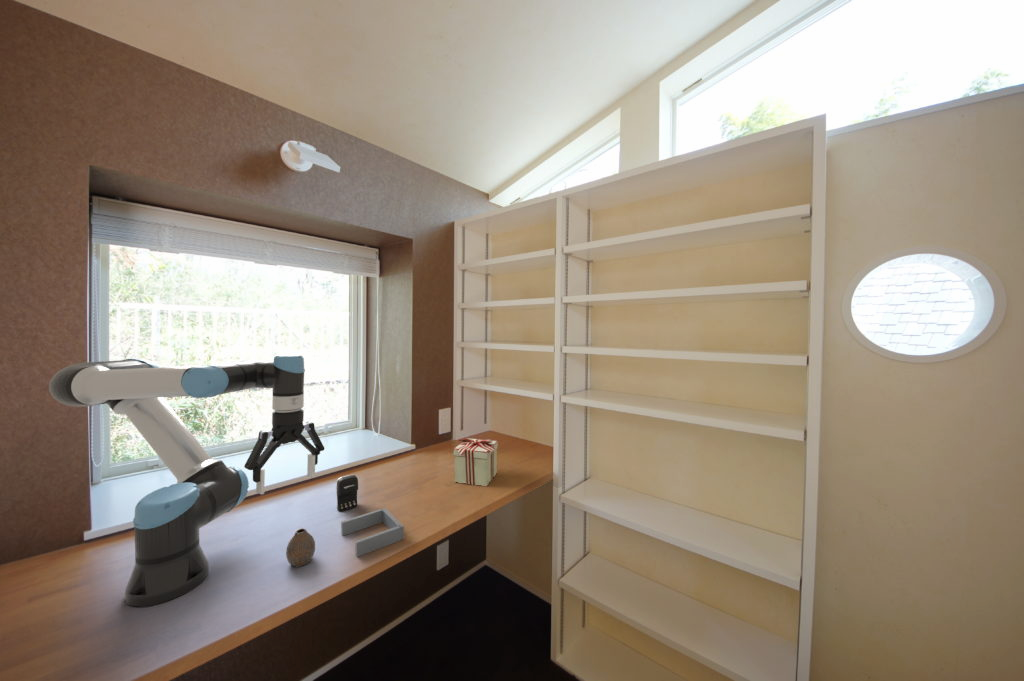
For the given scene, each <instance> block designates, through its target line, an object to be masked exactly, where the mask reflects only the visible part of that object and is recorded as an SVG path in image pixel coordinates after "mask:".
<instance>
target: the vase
mask: <svg viewBox="0 0 1024 681" xmlns="http://www.w3.org/2000/svg"><path fill="white" fill-rule="evenodd" d="M315 541H316V540H315V539H314V536H313V535H311V534H310V533H309V532H308V531H307V529H306V528H303V527H302V528H299V529H297V530H296V531H295V532H294V534H293V536H292V538H290V540H289V542H288V544H287V546H286V550H285V555H286V560H287V562H288V564H289V565H291V566H292V567H295V566H299V567H302V565H303V566H305V565H307V564H308V563H309V562H310V561H311V560H312V559H313V557H314V555H315V550H316V542H315Z"/></svg>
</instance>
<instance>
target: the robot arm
mask: <svg viewBox="0 0 1024 681" xmlns="http://www.w3.org/2000/svg"><path fill="white" fill-rule="evenodd" d="M304 360H305V359H304V357H303V356H302V355H300V354H276V355H274V356H273V358H272V361H264V360H263V361H262V360H249V359H245V360H235V361H233V362H231V363H220V364H207V365H187V366H185V365H183V366H166V367H165V366H162V367H161V366H160V365H158V364H157V363H156V362H154V361H152V360H149V359H143V358H142V359H141V358H139V359H138V358H137V359H136V358H125V359H121V360H119V359H118V360H105V361H88V362H81V363H80V362H79V363H75V364H71V365H68V366H66V367H64V368H62V369H60V370H59V371H57V372H56V373H55V374H54V375H53V376H52V378H51V379H50V381H49V385H48V386H49V387H48V389H49V393H50V395H51V396H52V398H53V399H54V400H55V401H57V402H58V403H60V404H62V405H66V406H68V407H78V408H79V407H80V408H81V407H82V408H83V407H91V406H92V407H93V406H100V405H108V407H109V408H110V409H111V410H112V412H114V414H116V415H117V414H118V415H125V416H126V417H127V418H128V419H129V421H130V422H131V424H132V425H133V426H134V427H135V428H136V430H137V431H138V432H139V433H140V435H141V436H142V437H143V439H145V441H146V442H147V443H148V445H149V446H150V447H151V449H152V450H153V451H154V453H155V454H156V455H157V456H158V458H159V459H160V460H161V461H162V462H163V464H164V465H165V466H166V467H167V469H168V470H169V471H170V472H171V473H172V475H173V476H174V477H175V479H176V480H177V482H176V483H174V484H170V485H169V486H164V487H160V488H158V489H156V490H153V491H152V492H150V493H148V494H146V495H145V496H143V497H142V498H141V499H140V500H139V501H138V502H137V503H136V505H135V508H134V517H133V520H132V523H133V528H134V531H133V532H134V533H133V534H134V554H135V557H134V558H135V560H134V567H133V569H132V572H131V574H130V577H129V580H128V582H127V585H126V588H125V592H124V597H125V599H124V600H125V601H126V602H125V603H126V605H128V604H129V605H128V606H130V605H132V606H131V607H134V606H144V607H149V606H154V605H158V604H162V603H165V602H168V601H171V600H173V599H174V600H175V599H176V598H178V597H181V596H182V595H185V594H186V593H188V592H190V591H192V590H193V589H195V588H196V587H198V586H199V585H200V584H201V583H203V581H205V579H206V578H207V577H208V575H209V573H210V569H209V568H210V566H209V560H208V558H207V557H206V555H205V553H204V550H203V549H202V547H201V544H200V529H202V528H203V527H204V526H206V525H208V524H210V523H211V522H213V521H214V520H216V519H217V518H219V517H221V516H223V515H224V514H227V513H229V512H231V511H232V510H234V509H235V507H237V506H238V505H240V504H242V502H243V501H244V499H245V498H246V497H247V495H248V489H249V487H250V486H249V485H250V484H249V478H248V476H247V473H245V471H243V469H241V468H239V467H235V466H229V467H228V466H227V465H226V464H225V463H224V461H223V460H222V459H213V458H212V457H211V456H210V455H209V453H208V452H207V451H206V450H205V448H204V447H203V446H202V444H201V443H200V442H199V441H198V439H197V438H196V436H194V435H193V433H192V432H191V430H190V428H188V426H186V425H185V423H184V422H183V420H182V419H181V418H180V417H179V415H178V414H177V413H176V412H175V410H174V409H173V408H172V406H171V405H170V404H169V403H168V402H167V401H166V399H165V398H175V397H176V398H177V397H192V398H195V399H204V398H205V399H207V398H212V397H216V396H219V395H220V396H221V395H223V394H224V395H225V394H229V393H235V392H239V391H243V390H244V391H245V390H249V389H272V406H271V408H272V410H274V411H272V415H271V416H272V417H271V418H272V419H271V424H272V426H271V427H272V428H271V430H267V431H264V430H260V431H259V432H258V437H257V438H258V439H257V441H256V443H255V445H254V446H253V448H252V450H251V452H250V454H249V456H248V458H247V460H246V462H245V463H244V466H243V467H244V469H247V471H248V470H249V471H252V481H253V482H254V483H255V484H256V489H255V492H256V493H258V494H260V495H264V494H265V479H266V478H265V475H266V474H265V472H266V471H265V469H264V468H263V467H264V465H266V463H267V462H268V461H269V459H270V458H271V457H272V456H273V454H274V453H275V452H276V450H277V449H278V448H279V447H281V445H287V444H289V443H295V442H297V441H298V443H299V444H301V445H302V446H303V447H304V448H305V449H307V451H308V452H309V453H307V469H306V471H307V473H306V474H307V475H306V476H307V477H310V478H312V479H313V478H316V465H318V462H319V461H318V460H319V456H320V455H321V452H323V451H325V449H326V448H325V445H324V443H322V441H321V439H320V437H319V435H318V433H317V432H316V430H315V423H314V422H311V421H307V422H305V423H304V417H305V416H304V412H305V411H304V409H303V408H304V407H305V406H304V404H305V403H304V400H305V398H304V397H305V396H304V395H305V392H304V384H305V371H306V370H305V361H304ZM304 430H305V431H306V432H307V435H308V436H309V438H310V440H311V441H312V443H311V442H310V441H308V440H307V438H306V437H305V436H304V435H303V434H302V433H303V432H304ZM270 437H272V439H271V440H270V441H269V443H268V445H267V442H268V440H269V439H270ZM266 445H267V446H266ZM265 446H266V447H265Z"/></svg>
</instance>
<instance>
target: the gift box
mask: <svg viewBox="0 0 1024 681" xmlns="http://www.w3.org/2000/svg"><path fill="white" fill-rule="evenodd" d="M458 441H459V442H461V443H459V444H458V445H457V446H455V447H454V449H453V456H454V483H455V482H458V483H457V484H460V483H466V484H465V485H467V484H472V485H471V486H476V485H482V486H481V487H484V486H486V487H487V486H488V485H489V484H490V483H491V481H492V480H494V478H493V477H496V475H497V474H498V470H497V469H498V468H497V467H498V452H497V451H498V446H499V445H498V444H499V443H498V440H493V439H490V438H487V439H482V438H481V439H480V438H479V439H478V438H469V437H468V438H461V439H459V440H458ZM496 473H497V474H496ZM489 482H490V483H489Z"/></svg>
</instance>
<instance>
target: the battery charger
mask: <svg viewBox="0 0 1024 681" xmlns="http://www.w3.org/2000/svg"><path fill="white" fill-rule="evenodd" d="M335 484H336V490H335V491H336V509H337V510H338V511H339V512H343V511H346V510H350V509H353V508H356V507H357V506H358V490H359V478H358V477H357V475H356V474H348V475H344V476H340V477H338V478H337V480H336V483H335Z"/></svg>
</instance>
